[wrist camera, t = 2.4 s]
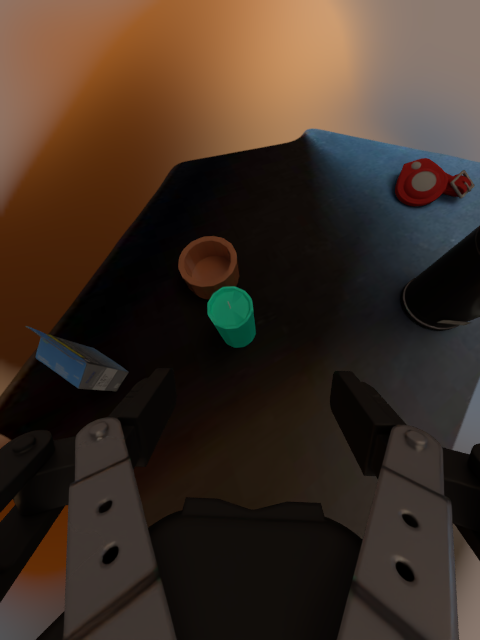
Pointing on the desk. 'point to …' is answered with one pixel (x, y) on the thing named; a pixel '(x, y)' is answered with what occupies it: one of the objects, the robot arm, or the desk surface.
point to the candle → (232, 315)
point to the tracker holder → (429, 183)
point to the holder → (209, 265)
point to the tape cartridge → (79, 363)
